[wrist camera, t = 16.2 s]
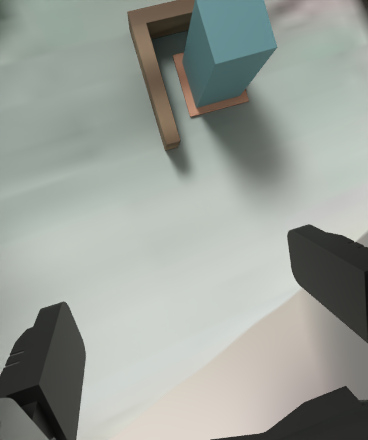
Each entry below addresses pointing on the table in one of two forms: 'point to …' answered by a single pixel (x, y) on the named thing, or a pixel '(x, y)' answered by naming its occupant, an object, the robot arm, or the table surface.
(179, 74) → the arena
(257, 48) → the teal block
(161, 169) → the table surface
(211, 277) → the table surface
